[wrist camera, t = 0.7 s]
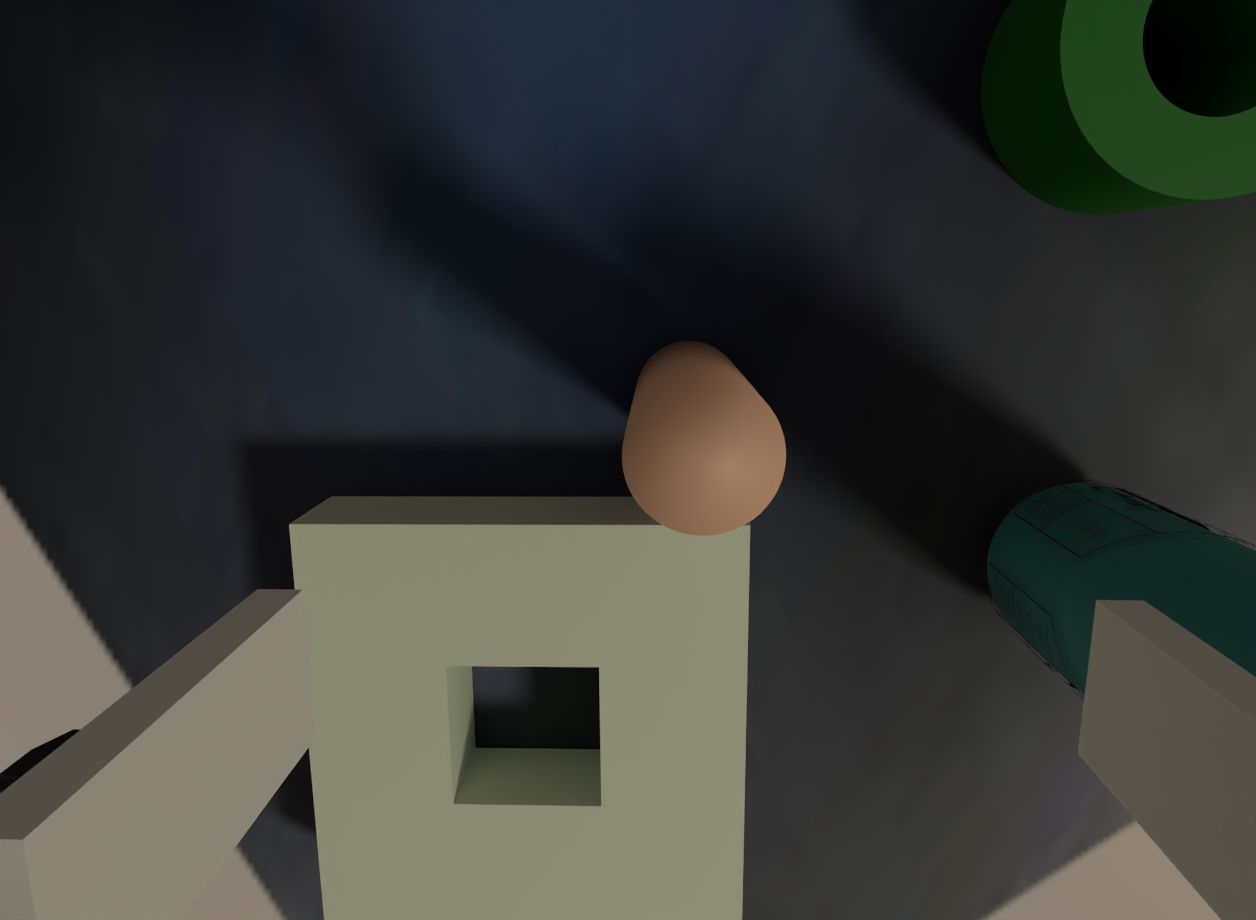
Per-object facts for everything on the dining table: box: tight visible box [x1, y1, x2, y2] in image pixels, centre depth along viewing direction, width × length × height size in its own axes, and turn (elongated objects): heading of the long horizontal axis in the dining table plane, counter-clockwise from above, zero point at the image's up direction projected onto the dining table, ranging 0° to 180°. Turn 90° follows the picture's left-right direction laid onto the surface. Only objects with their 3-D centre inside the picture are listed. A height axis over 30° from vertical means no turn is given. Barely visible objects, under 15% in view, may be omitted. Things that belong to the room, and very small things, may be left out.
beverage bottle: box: [986, 480, 1256, 700], centre depth 24 cm, size 6×7×20 cm
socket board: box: [289, 496, 750, 920], centre depth 34 cm, size 16×16×4 cm
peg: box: [622, 341, 786, 536], centre depth 27 cm, size 4×4×12 cm
